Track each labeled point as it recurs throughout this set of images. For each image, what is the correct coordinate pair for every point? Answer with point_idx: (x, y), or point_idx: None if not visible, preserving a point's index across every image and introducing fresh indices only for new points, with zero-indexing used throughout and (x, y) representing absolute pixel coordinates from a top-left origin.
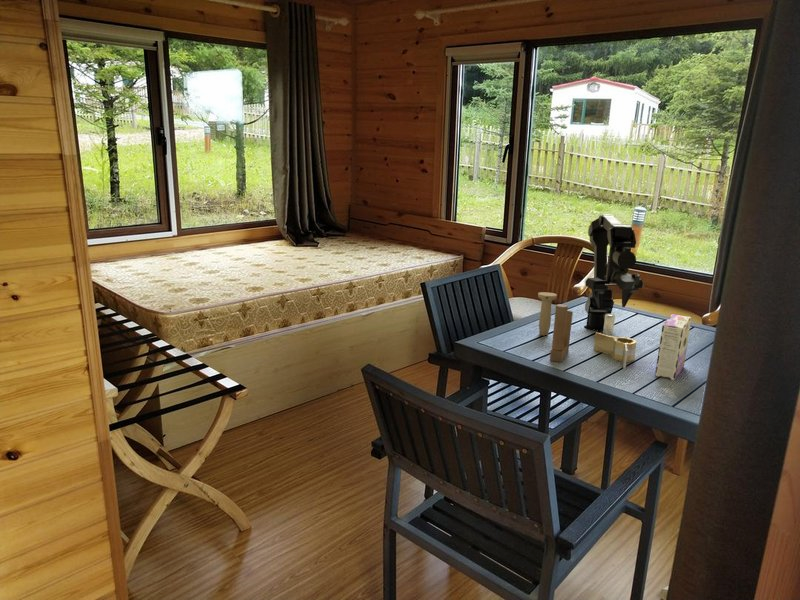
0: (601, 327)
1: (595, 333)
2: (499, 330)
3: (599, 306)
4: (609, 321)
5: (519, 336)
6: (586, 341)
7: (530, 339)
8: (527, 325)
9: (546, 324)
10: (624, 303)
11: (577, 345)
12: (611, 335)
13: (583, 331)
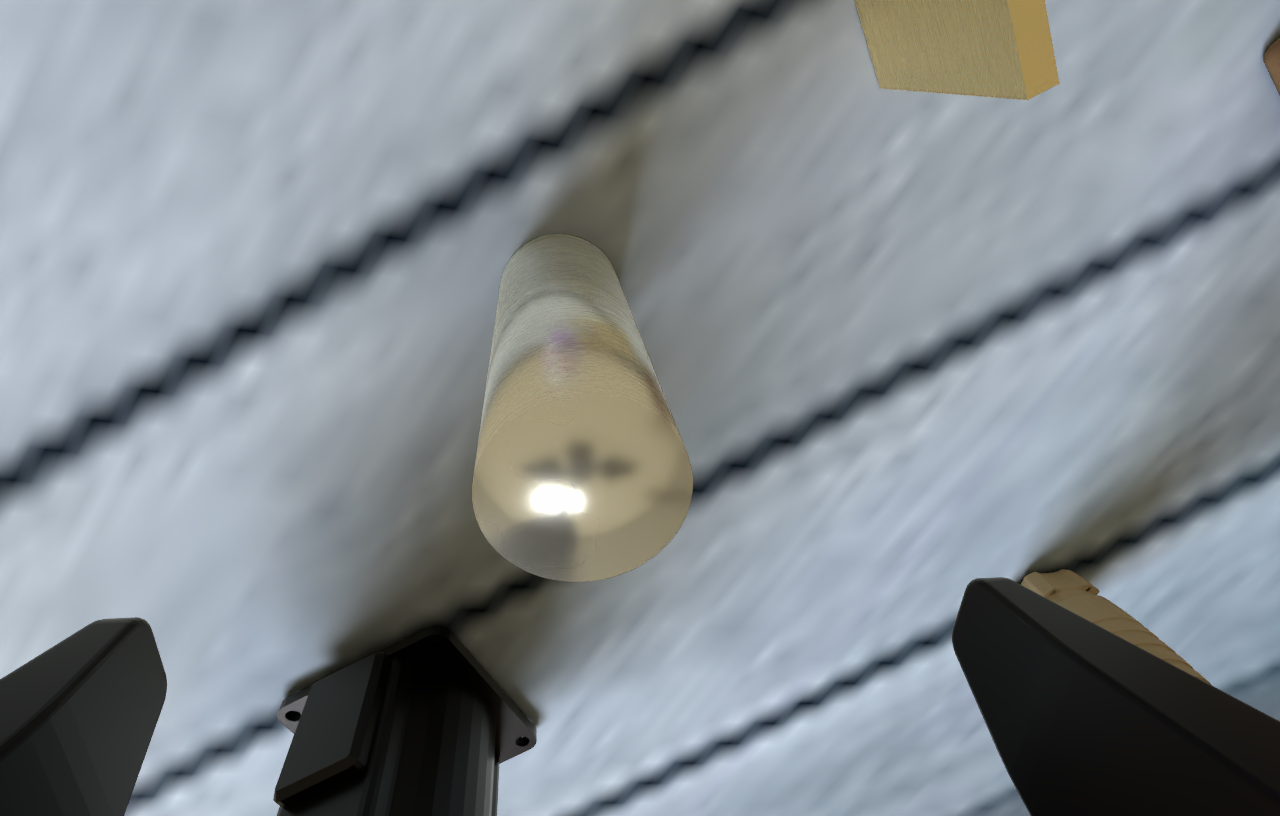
0: (397, 673)
1: (1047, 84)
2: (1269, 706)
3: (1059, 606)
4: (631, 362)
5: (1256, 578)
6: (775, 374)
7: (1240, 502)
8: (985, 789)
9: (1153, 645)
10: (60, 721)
11: (965, 270)
12: (546, 266)
13: (605, 643)
